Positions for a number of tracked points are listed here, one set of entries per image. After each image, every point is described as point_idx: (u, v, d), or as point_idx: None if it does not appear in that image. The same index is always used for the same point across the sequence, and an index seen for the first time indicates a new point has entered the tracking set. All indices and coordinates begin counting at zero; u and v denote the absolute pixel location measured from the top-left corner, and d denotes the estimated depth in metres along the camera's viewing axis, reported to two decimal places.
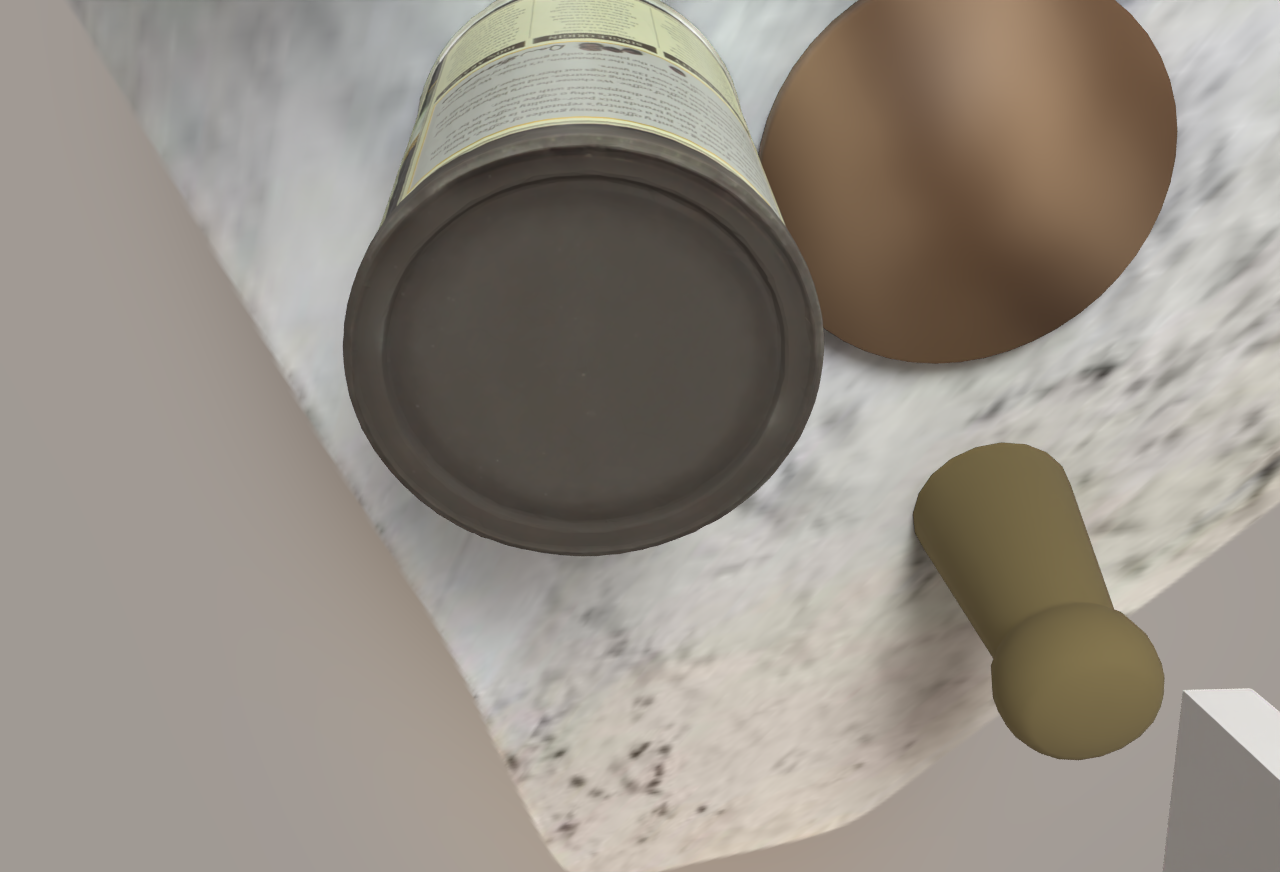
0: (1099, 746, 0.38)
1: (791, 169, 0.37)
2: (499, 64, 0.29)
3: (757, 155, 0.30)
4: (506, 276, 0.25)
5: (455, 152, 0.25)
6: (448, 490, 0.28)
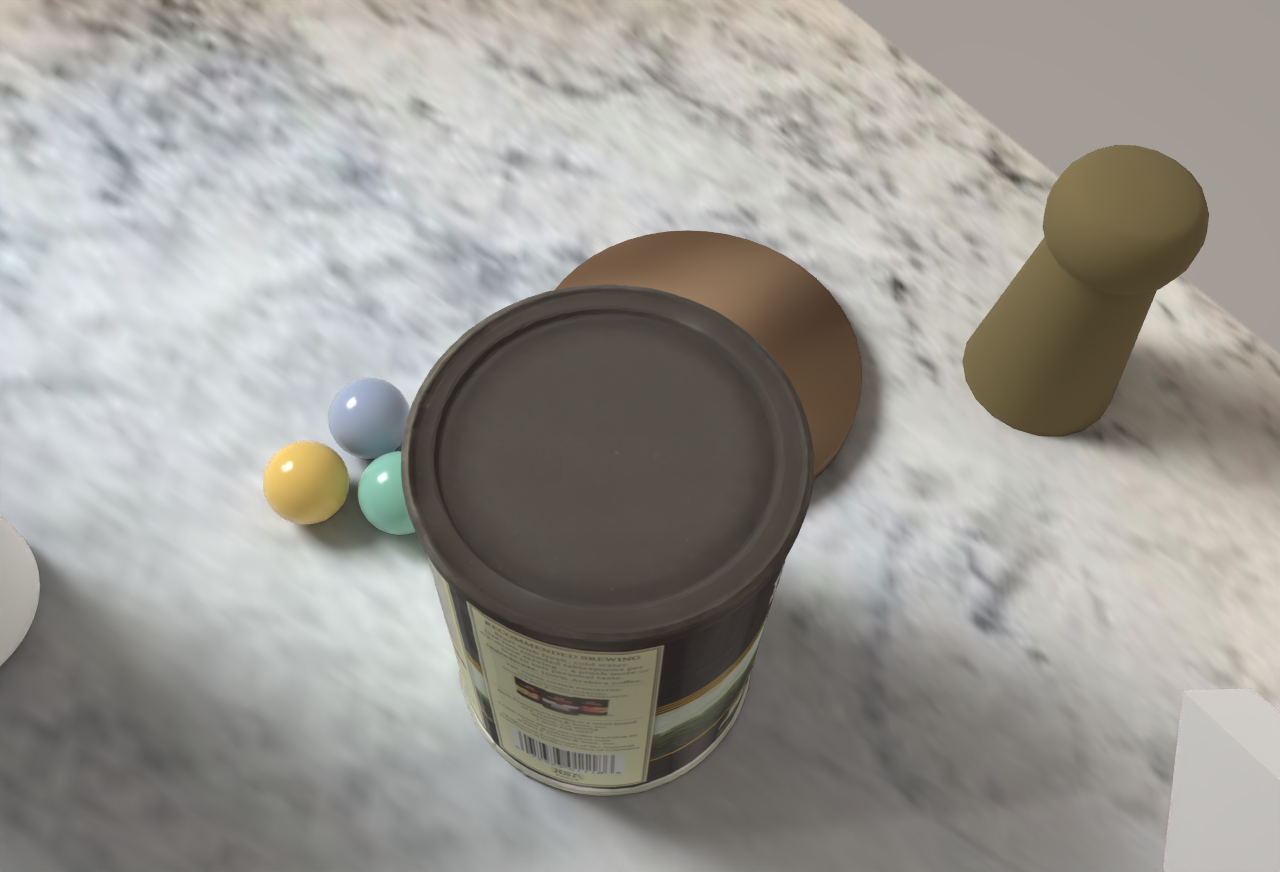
0: (1179, 183, 0.40)
1: None
2: None
3: None
4: (508, 486, 0.30)
5: None
6: (708, 587, 0.28)
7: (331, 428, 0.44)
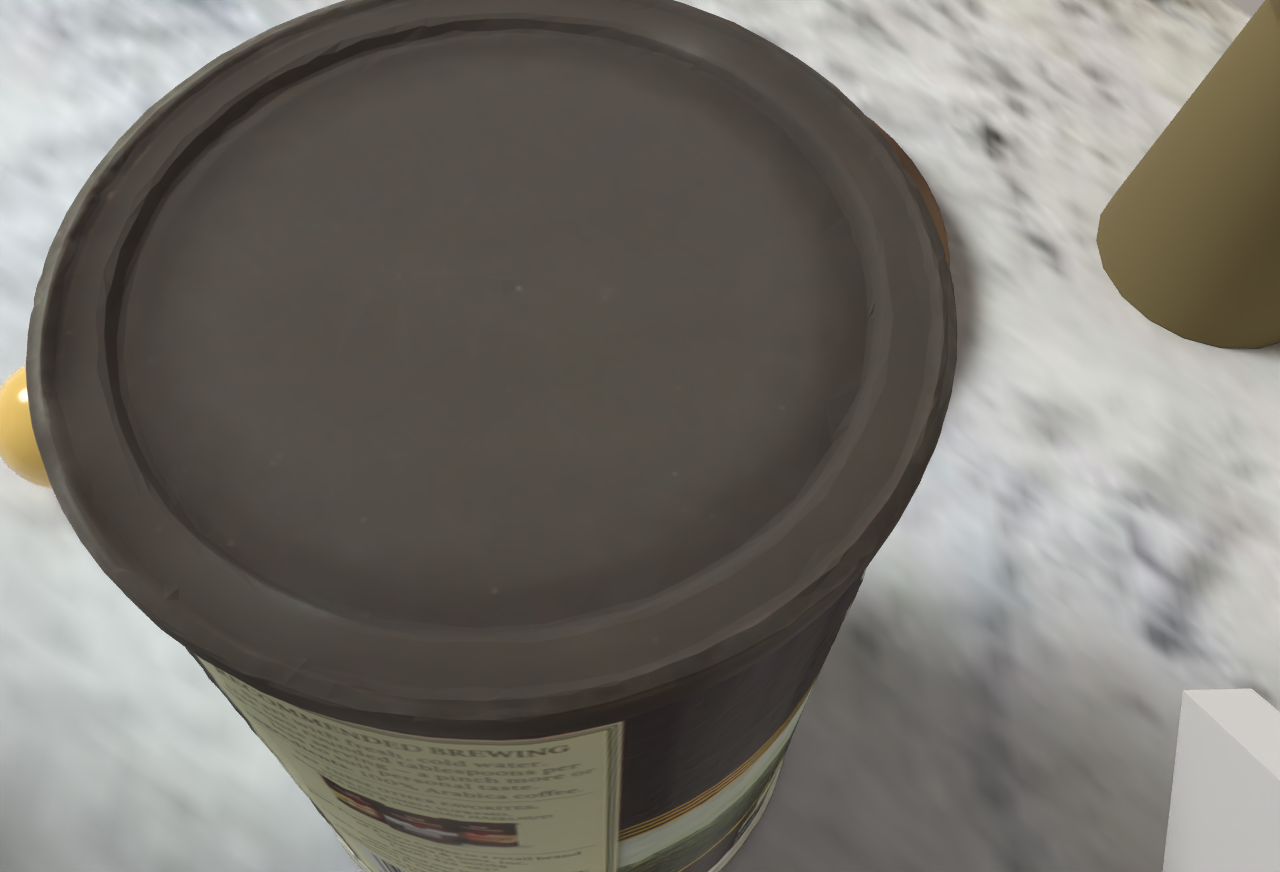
0: None
1: None
2: None
3: None
4: (271, 360, 0.13)
5: None
6: (726, 584, 0.12)
7: None
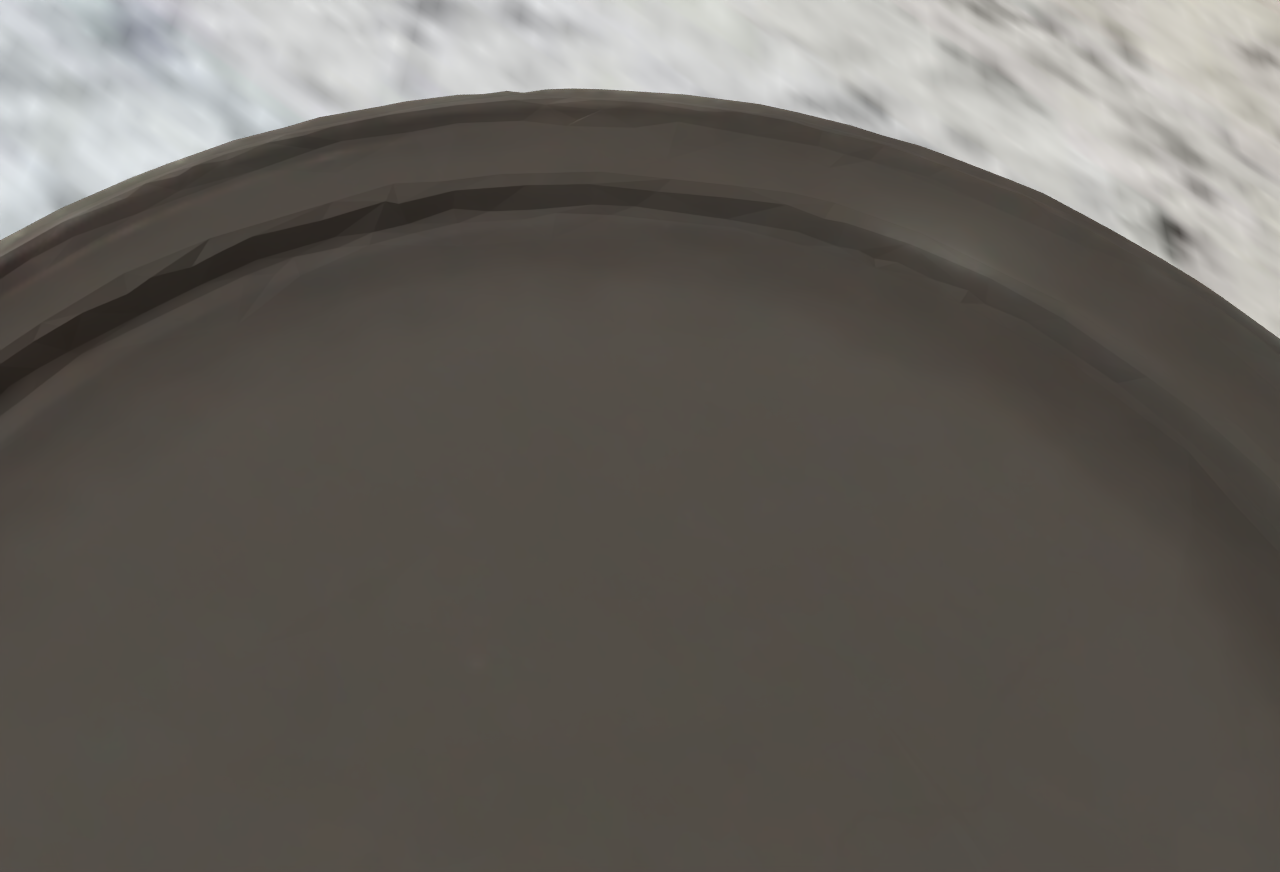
0: None
1: None
2: None
3: None
4: None
5: None
6: None
7: None
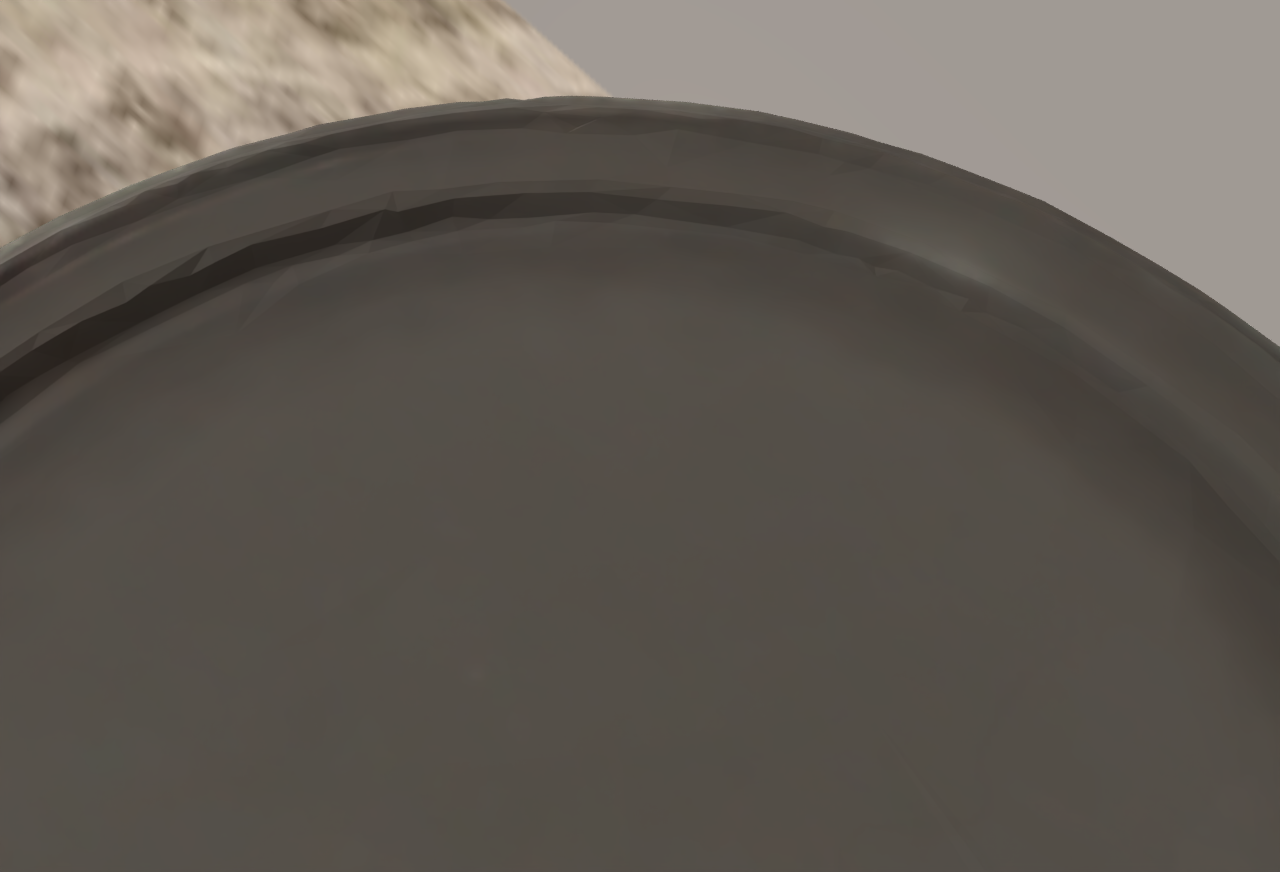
0: None
1: None
2: None
3: None
4: None
5: None
6: None
7: None
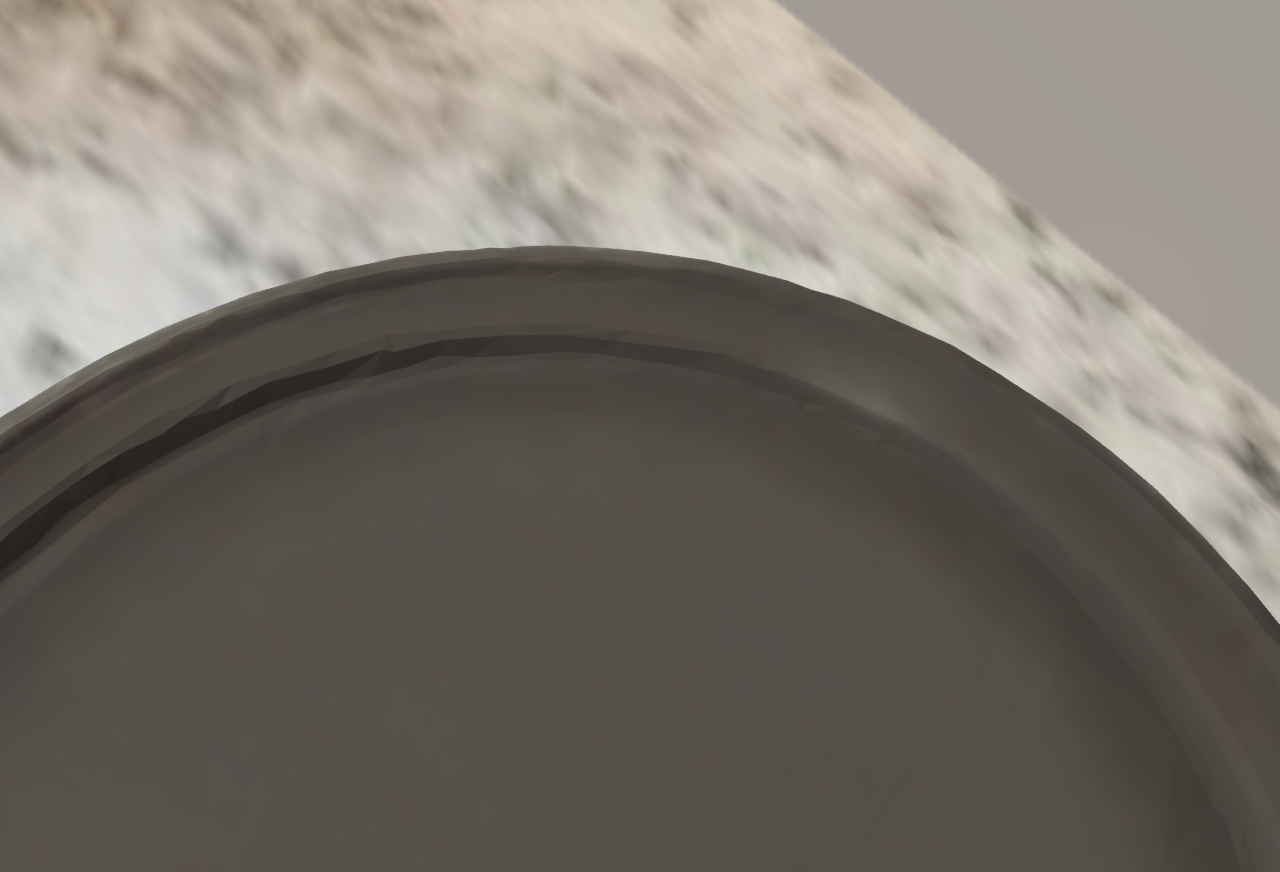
0: None
1: None
2: None
3: None
4: None
5: None
6: None
7: None
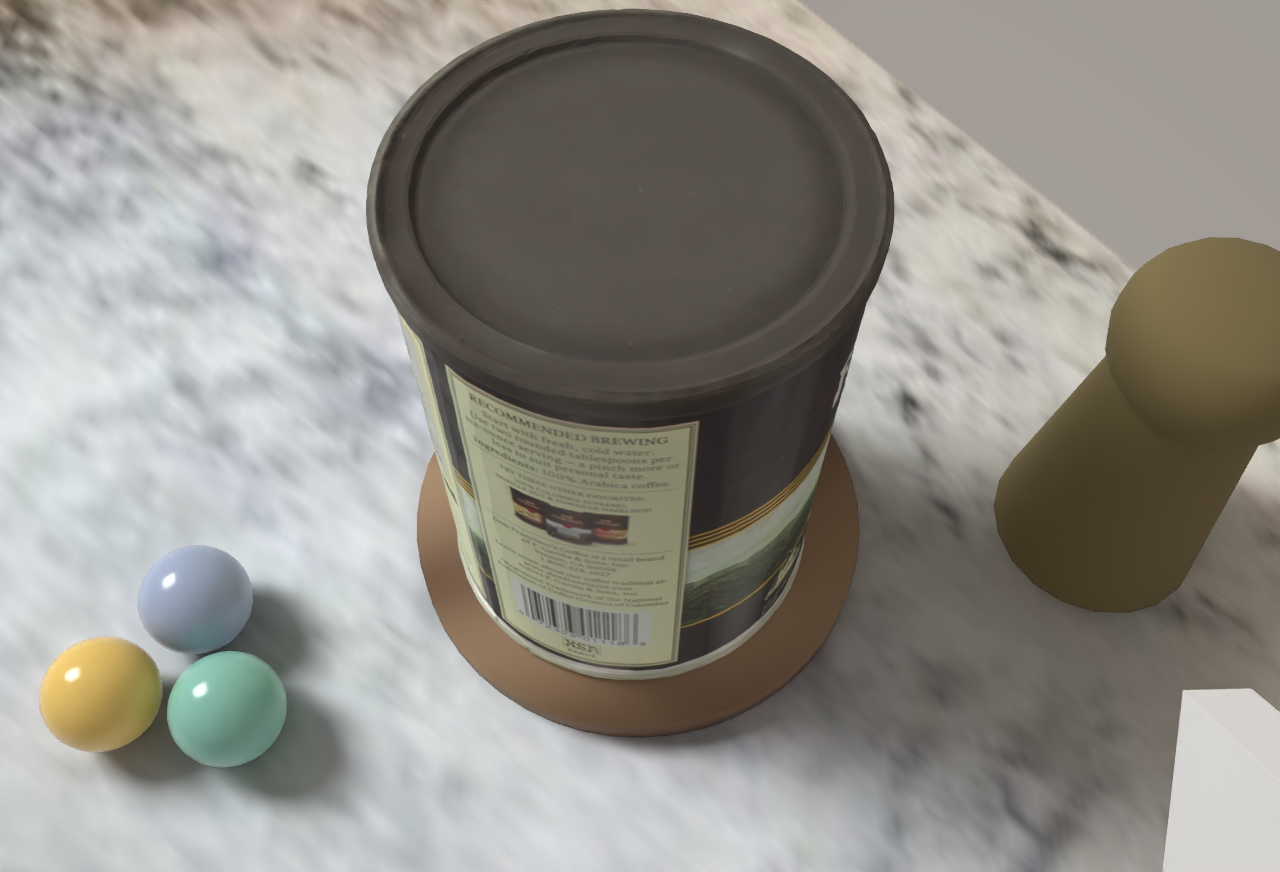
0: None
1: (576, 683, 0.33)
2: None
3: None
4: (502, 226, 0.23)
5: None
6: (757, 342, 0.22)
7: (140, 616, 0.33)
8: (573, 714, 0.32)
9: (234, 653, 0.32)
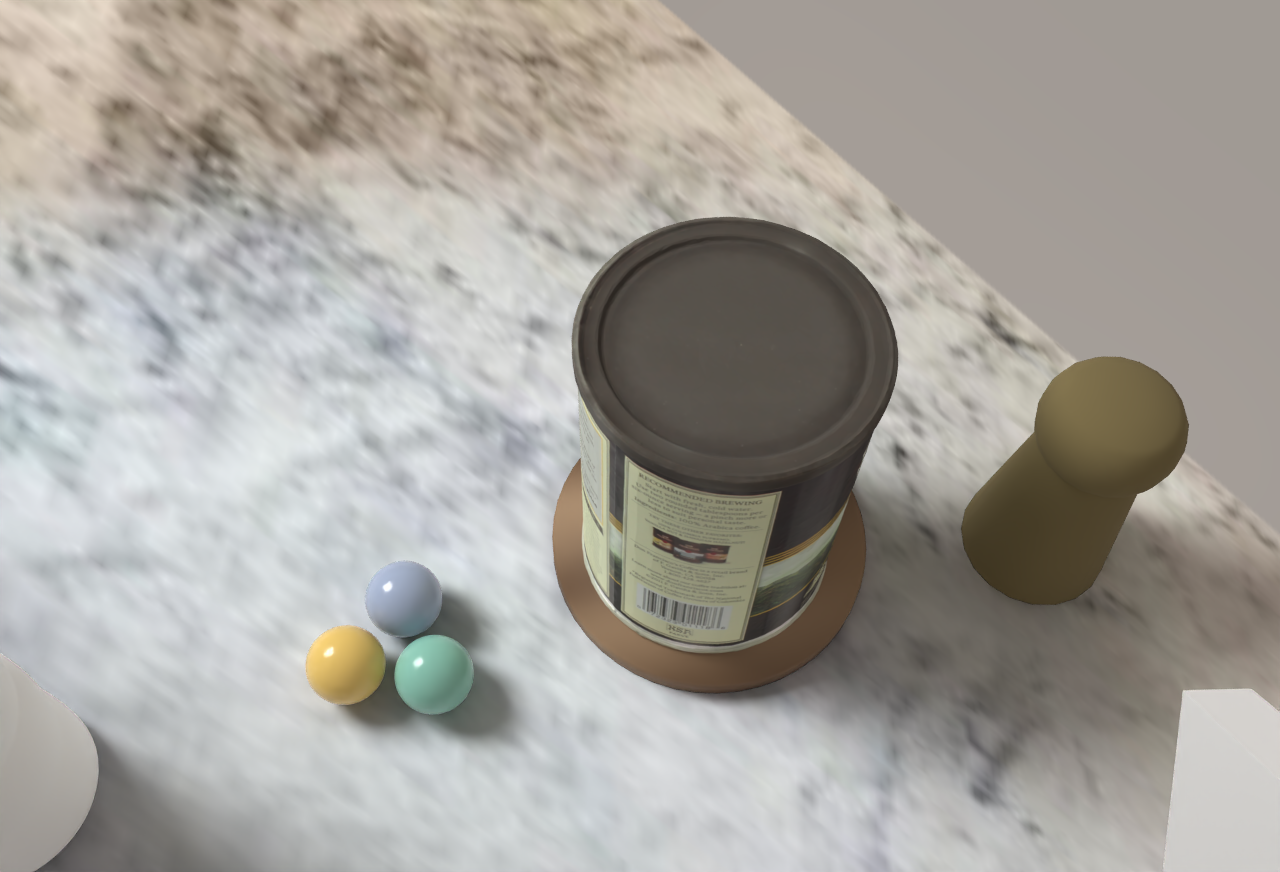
0: (1160, 398, 0.42)
1: (672, 656, 0.47)
2: (582, 469, 0.43)
3: None
4: (657, 369, 0.38)
5: (584, 406, 0.39)
6: (817, 444, 0.36)
7: (368, 611, 0.47)
8: (671, 677, 0.47)
9: (439, 636, 0.46)
